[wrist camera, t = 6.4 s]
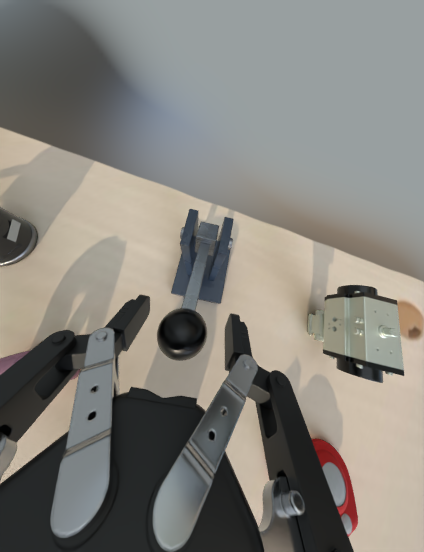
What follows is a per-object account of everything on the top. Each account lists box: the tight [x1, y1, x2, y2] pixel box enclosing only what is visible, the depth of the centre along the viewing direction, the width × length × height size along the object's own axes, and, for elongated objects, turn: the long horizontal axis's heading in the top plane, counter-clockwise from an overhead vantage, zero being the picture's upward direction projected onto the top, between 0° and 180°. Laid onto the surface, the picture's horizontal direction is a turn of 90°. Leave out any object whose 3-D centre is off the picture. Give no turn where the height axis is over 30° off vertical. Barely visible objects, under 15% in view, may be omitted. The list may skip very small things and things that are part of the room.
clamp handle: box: [157, 222, 219, 361], centre depth 14 cm, size 14×4×4 cm, turn 170°
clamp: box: [171, 209, 233, 304], centre depth 23 cm, size 12×9×14 cm
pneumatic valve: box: [307, 285, 404, 383], centre depth 23 cm, size 6×12×12 cm, turn 167°
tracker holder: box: [312, 439, 358, 537], centre depth 21 cm, size 12×4×10 cm
